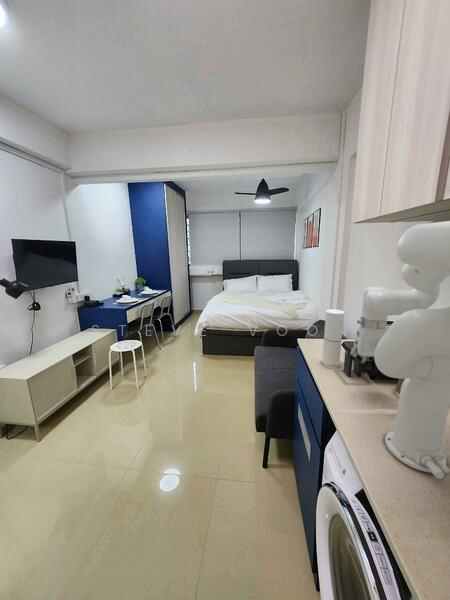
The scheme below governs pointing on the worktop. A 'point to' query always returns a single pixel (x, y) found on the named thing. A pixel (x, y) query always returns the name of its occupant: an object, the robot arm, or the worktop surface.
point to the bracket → (348, 363)
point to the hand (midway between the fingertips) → (367, 371)
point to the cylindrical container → (333, 336)
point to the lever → (368, 362)
